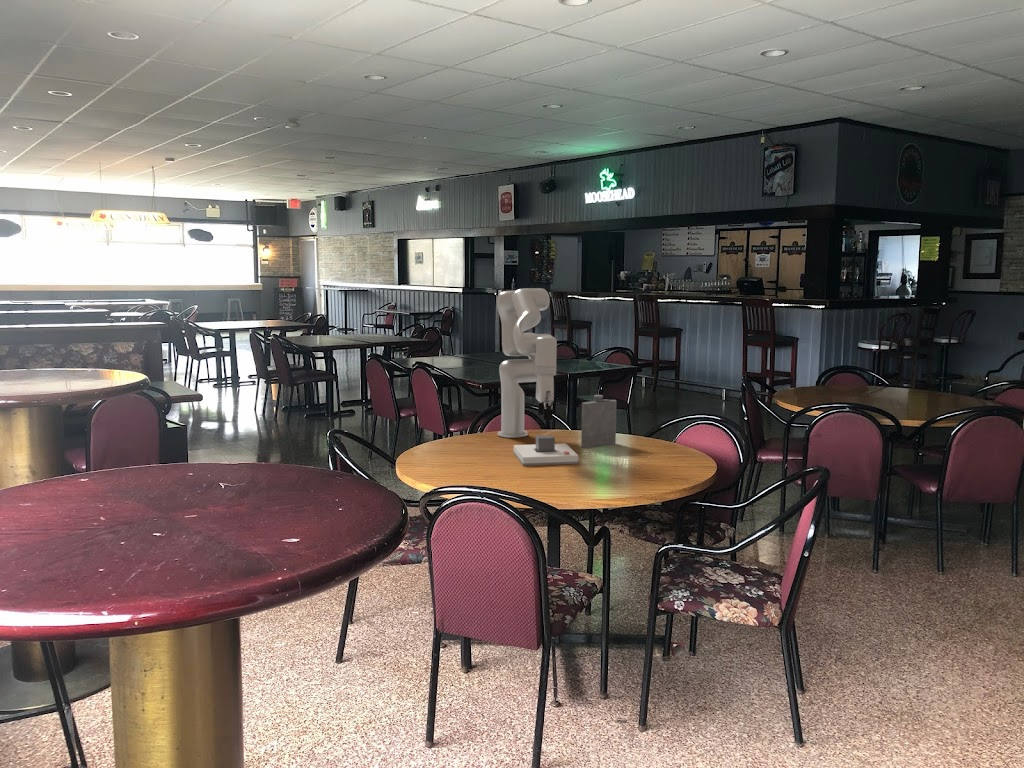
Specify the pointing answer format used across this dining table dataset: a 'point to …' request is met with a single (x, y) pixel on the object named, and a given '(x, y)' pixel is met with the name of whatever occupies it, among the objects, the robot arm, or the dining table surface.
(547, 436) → the plug
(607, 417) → the hip flask
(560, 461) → the socket
